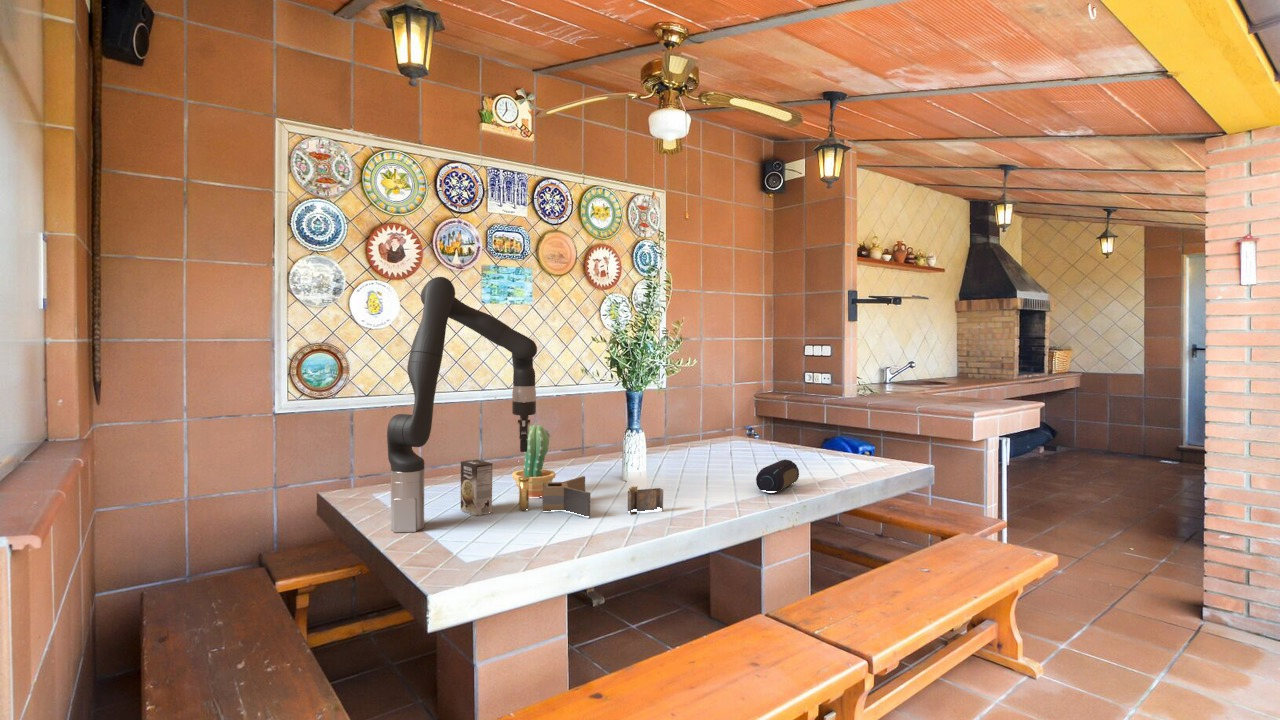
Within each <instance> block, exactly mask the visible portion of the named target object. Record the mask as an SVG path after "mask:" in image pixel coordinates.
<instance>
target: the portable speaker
mask: <svg viewBox="0 0 1280 720" xmlns="http://www.w3.org/2000/svg"><path fill="white" fill-rule="evenodd" d="M799 477H800V470H799V467H798V465H797V464H796V463H795V462H793V461H792V460H790V459H780V460H778V461H776V462H774V463H771V464H769V465H767V466H764V467H763V468H761V469H760V470H759V472H757V475H756V477H755V481H756V483H755V484H756V487H758V489H759V490H760V491H761V490H766V491H779V492H780V491H782V490H784V489H786V488H788V487H790V486H792V485H793V484H795V483H796V482H797V481H798V480H799ZM794 482H795V483H794ZM792 483H793V484H792ZM791 484H792V485H791ZM789 485H790V486H789ZM787 486H788V487H787ZM785 487H786V488H785ZM783 488H784V489H783ZM781 489H782V490H781Z"/></svg>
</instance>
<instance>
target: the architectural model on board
mask: <svg viewBox="0 0 1280 720" xmlns="http://www.w3.org/2000/svg"><path fill="white" fill-rule="evenodd" d="M638 487H639V486H638V485H636V486H630V487H629V488H628V490H627V512H628V511H630V512H631V510H633V509H637V511H645V510H654V509H657V507H660V508H662V509H663V510H664V489H663V488H661V487H659V488H658V487H654V488H644V489H638Z"/></svg>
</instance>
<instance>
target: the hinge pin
mask: <svg viewBox="0 0 1280 720" xmlns="http://www.w3.org/2000/svg"><path fill="white" fill-rule="evenodd" d="M518 480H519V488H518V490H519V491H518V492H519V493H518V498H519V499H518V510H526V509H528V510H529V505H530V504H529V503H530V502H529V500H530V499H529V480H530V477H527V476H522V477H518Z"/></svg>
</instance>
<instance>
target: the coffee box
mask: <svg viewBox="0 0 1280 720" xmlns="http://www.w3.org/2000/svg"><path fill="white" fill-rule="evenodd" d="M493 465H494V464H493V462H492V463H491V462H489V461H488V462H487V461H484V460H481V459H469V460H468V459H467V460H461V461H460V511H461V510H462V511H461V512H463V511H464V512H463V513H465V512H467V513H466V514H468V513H470V514H469V515H471V514H473V515H472V516H474V515H479V516H482V515H481V514H484V515H486V514H485V513H489V512H492V513H493V468H494V467H493ZM489 514H490V513H489Z"/></svg>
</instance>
